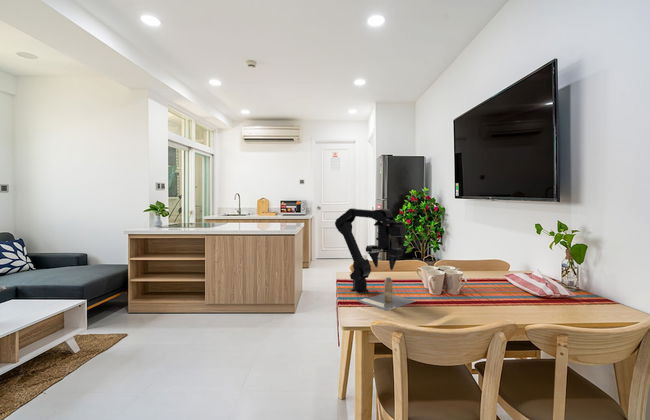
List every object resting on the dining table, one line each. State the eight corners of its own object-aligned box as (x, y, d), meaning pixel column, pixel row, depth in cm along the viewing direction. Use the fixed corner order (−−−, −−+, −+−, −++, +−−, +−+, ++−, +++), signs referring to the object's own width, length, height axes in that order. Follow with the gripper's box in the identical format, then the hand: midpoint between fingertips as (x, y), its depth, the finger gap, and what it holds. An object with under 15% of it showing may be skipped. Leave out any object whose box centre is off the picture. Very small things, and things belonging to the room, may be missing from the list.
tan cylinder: (382, 306, 138) (382, 277, 137) (390, 305, 139) (390, 276, 138) (386, 308, 134) (386, 279, 134) (394, 307, 135) (394, 278, 135)
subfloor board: (356, 303, 145) (356, 300, 145) (385, 295, 158) (385, 292, 158) (386, 313, 132) (386, 310, 132) (416, 303, 145) (416, 300, 145)
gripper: (410, 236, 155) (410, 269, 155) (380, 233, 169) (379, 263, 170) (395, 237, 148) (395, 272, 148) (365, 234, 162) (364, 266, 162)
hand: (383, 268), depth 157 cm, fingers open, 9 cm apart
